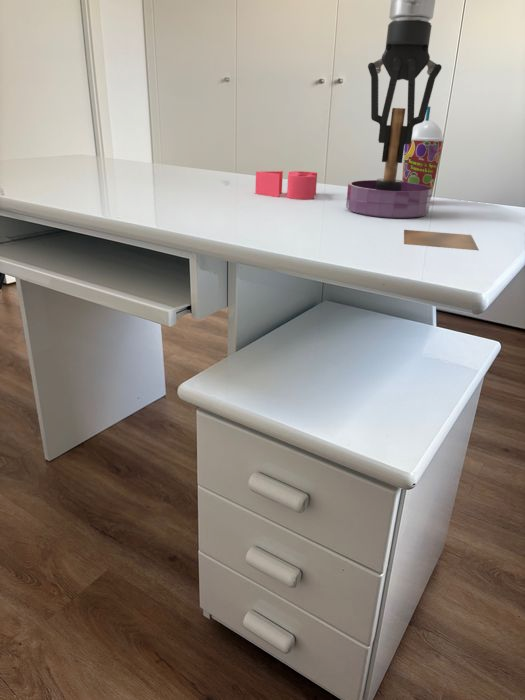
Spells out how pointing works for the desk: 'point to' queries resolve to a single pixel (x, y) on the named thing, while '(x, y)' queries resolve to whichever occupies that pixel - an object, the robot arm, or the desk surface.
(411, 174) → the smoothie
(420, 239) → the cork mat
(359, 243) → the desk surface
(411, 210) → the bowl
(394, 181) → the brush
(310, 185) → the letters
